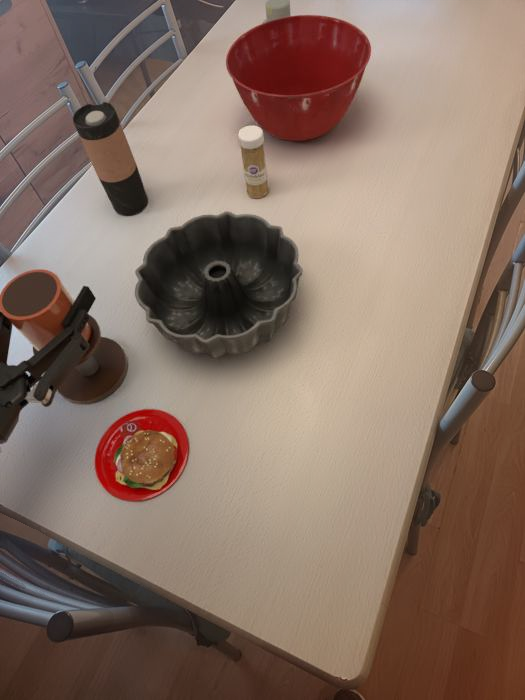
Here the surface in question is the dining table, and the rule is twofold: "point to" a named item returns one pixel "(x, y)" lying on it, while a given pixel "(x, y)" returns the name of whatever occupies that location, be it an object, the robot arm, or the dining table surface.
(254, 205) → the dining table surface
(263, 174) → the sprinkles bottle
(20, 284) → the tumbler
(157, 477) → the hamburger
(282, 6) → the air freshener
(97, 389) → the wooden pedestal stand
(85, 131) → the travel mug
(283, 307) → the bundt pan
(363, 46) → the mixing bowl
